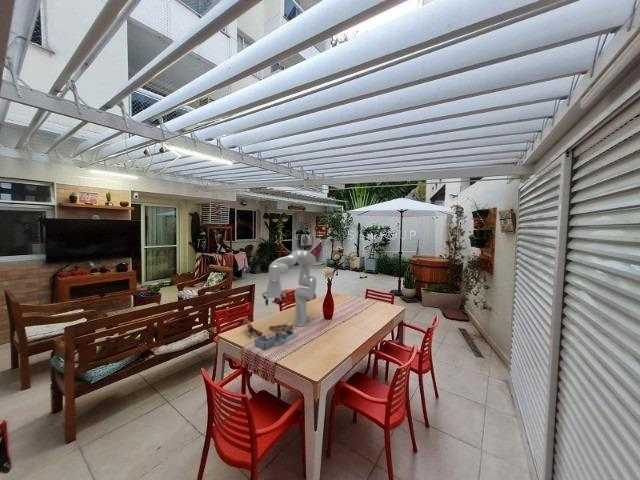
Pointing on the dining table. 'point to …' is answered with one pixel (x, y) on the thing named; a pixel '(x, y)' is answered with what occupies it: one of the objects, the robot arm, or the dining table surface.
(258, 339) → the tray
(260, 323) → the dining table surface
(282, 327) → the seesaw
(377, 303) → the dining table surface
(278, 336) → the fulcrum
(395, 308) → the dining table surface
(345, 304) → the dining table surface
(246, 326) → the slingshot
